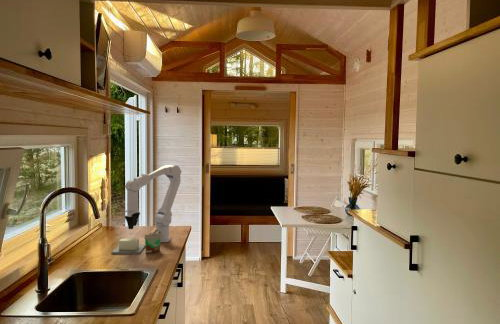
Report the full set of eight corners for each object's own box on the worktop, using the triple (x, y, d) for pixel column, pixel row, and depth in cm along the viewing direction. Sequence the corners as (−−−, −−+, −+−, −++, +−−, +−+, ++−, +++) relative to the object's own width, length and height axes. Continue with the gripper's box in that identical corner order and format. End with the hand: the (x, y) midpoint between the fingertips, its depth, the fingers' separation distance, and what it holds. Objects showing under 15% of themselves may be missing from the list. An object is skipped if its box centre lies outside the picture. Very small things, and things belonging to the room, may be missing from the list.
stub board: (119, 246, 200) (119, 241, 200) (145, 246, 201) (145, 241, 201) (111, 254, 186) (111, 248, 186) (139, 254, 187) (139, 248, 187)
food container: (155, 255, 185) (155, 235, 185) (144, 254, 186) (144, 235, 186) (166, 248, 197) (166, 230, 197) (155, 247, 199) (155, 229, 198)
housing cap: (121, 246, 196) (121, 238, 195) (138, 246, 196) (139, 238, 196) (118, 249, 191) (118, 241, 190) (136, 249, 191) (136, 241, 191)
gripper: (128, 200, 206) (128, 224, 207) (121, 204, 192) (121, 230, 192) (141, 200, 207) (141, 224, 207) (135, 204, 192) (135, 230, 193)
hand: (132, 227), depth 200 cm, fingers open, 7 cm apart
